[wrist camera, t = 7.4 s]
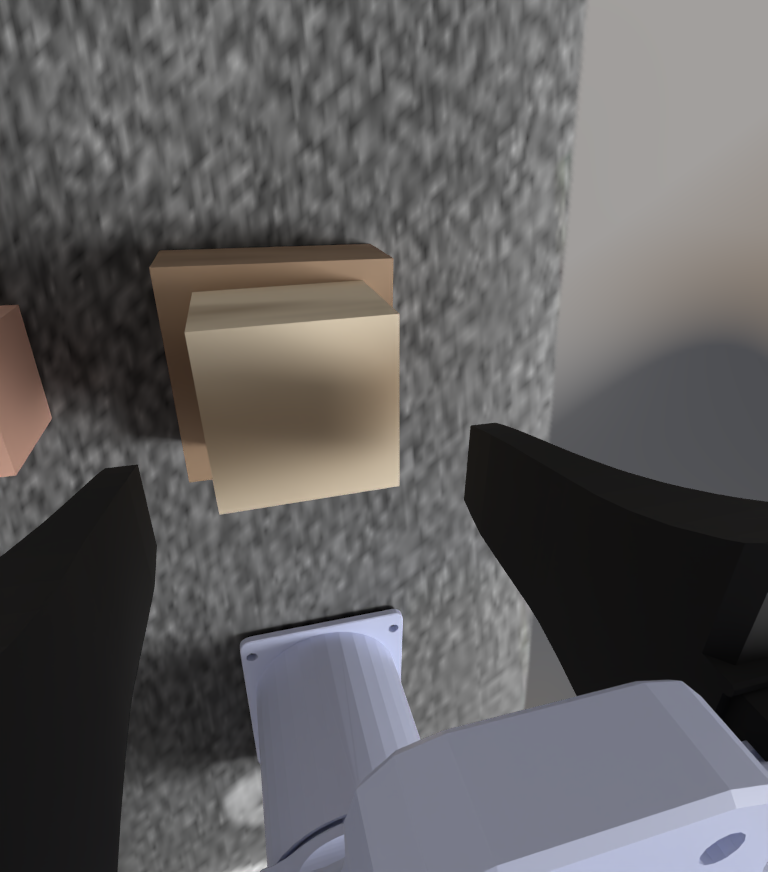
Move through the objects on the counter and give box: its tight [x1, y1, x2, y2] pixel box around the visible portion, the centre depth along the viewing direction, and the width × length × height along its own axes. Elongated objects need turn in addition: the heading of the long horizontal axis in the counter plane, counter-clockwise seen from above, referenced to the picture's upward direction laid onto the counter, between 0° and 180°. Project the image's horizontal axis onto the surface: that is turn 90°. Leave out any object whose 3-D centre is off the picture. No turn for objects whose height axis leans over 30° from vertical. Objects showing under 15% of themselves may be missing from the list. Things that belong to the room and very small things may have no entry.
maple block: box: [185, 280, 399, 515], centre depth 16 cm, size 5×5×4 cm
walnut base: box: [149, 244, 393, 482], centre depth 19 cm, size 7×7×3 cm
